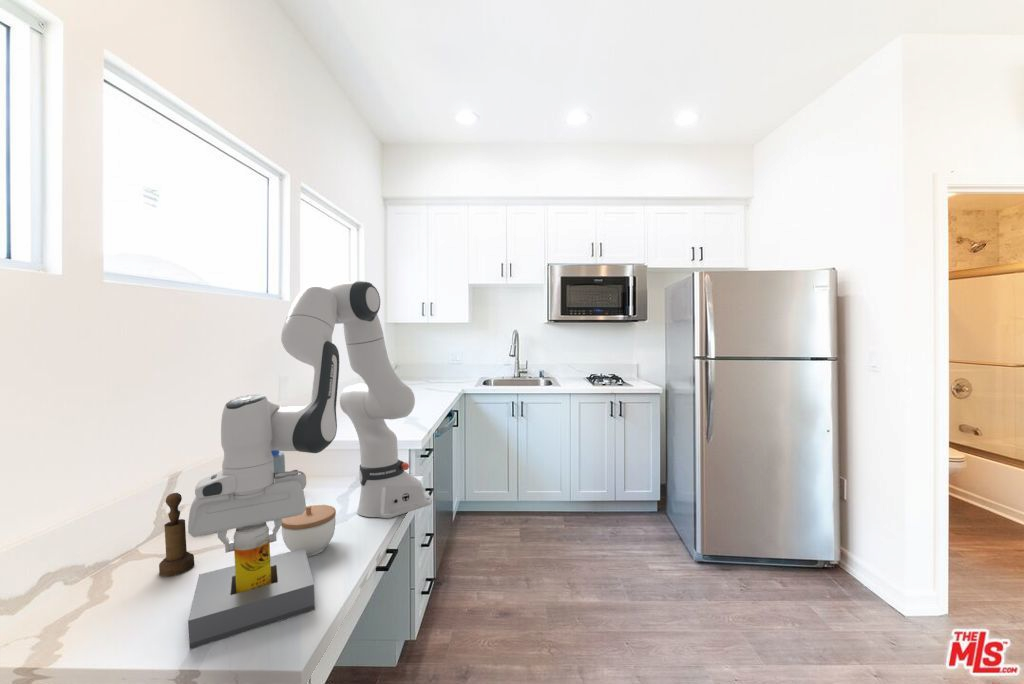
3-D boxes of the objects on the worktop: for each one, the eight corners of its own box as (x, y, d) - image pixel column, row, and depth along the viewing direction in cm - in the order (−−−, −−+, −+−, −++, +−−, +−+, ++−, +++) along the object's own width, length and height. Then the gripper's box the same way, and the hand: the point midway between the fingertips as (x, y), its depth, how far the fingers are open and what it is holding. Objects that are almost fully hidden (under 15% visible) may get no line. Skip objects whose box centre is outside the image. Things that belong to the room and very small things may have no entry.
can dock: (305, 569, 102) (304, 548, 102) (315, 609, 87) (313, 584, 87) (200, 598, 92) (199, 574, 92) (189, 649, 77) (187, 620, 77)
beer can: (257, 611, 85) (253, 533, 85) (229, 609, 86) (225, 532, 86) (278, 593, 91) (275, 520, 91) (252, 591, 92) (249, 519, 92)
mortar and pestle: (156, 579, 100) (152, 500, 100) (162, 567, 106) (159, 492, 106) (191, 571, 104) (188, 494, 103) (196, 559, 109) (192, 486, 109)
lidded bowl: (284, 545, 115) (282, 502, 115) (336, 534, 120) (334, 494, 120) (280, 567, 104) (278, 520, 104) (338, 555, 109) (336, 510, 109)
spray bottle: (251, 499, 151) (248, 425, 150) (278, 491, 158) (275, 421, 158) (264, 504, 145) (261, 428, 145) (291, 495, 153) (288, 423, 152)
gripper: (304, 464, 97) (306, 527, 97) (189, 482, 87) (192, 553, 87) (307, 471, 92) (309, 538, 92) (184, 491, 81) (187, 567, 81)
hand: (251, 545), depth 89 cm, fingers closed on beer can, 6 cm apart
